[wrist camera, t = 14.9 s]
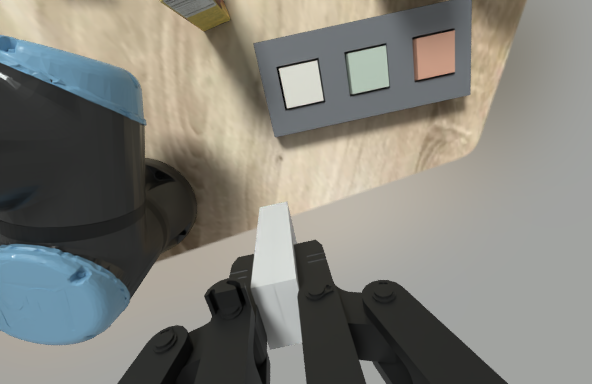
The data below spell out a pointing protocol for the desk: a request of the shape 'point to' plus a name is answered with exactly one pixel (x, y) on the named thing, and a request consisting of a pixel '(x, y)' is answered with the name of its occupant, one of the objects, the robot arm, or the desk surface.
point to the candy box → (200, 11)
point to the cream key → (301, 84)
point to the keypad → (357, 36)
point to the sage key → (367, 70)
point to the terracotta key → (434, 55)
